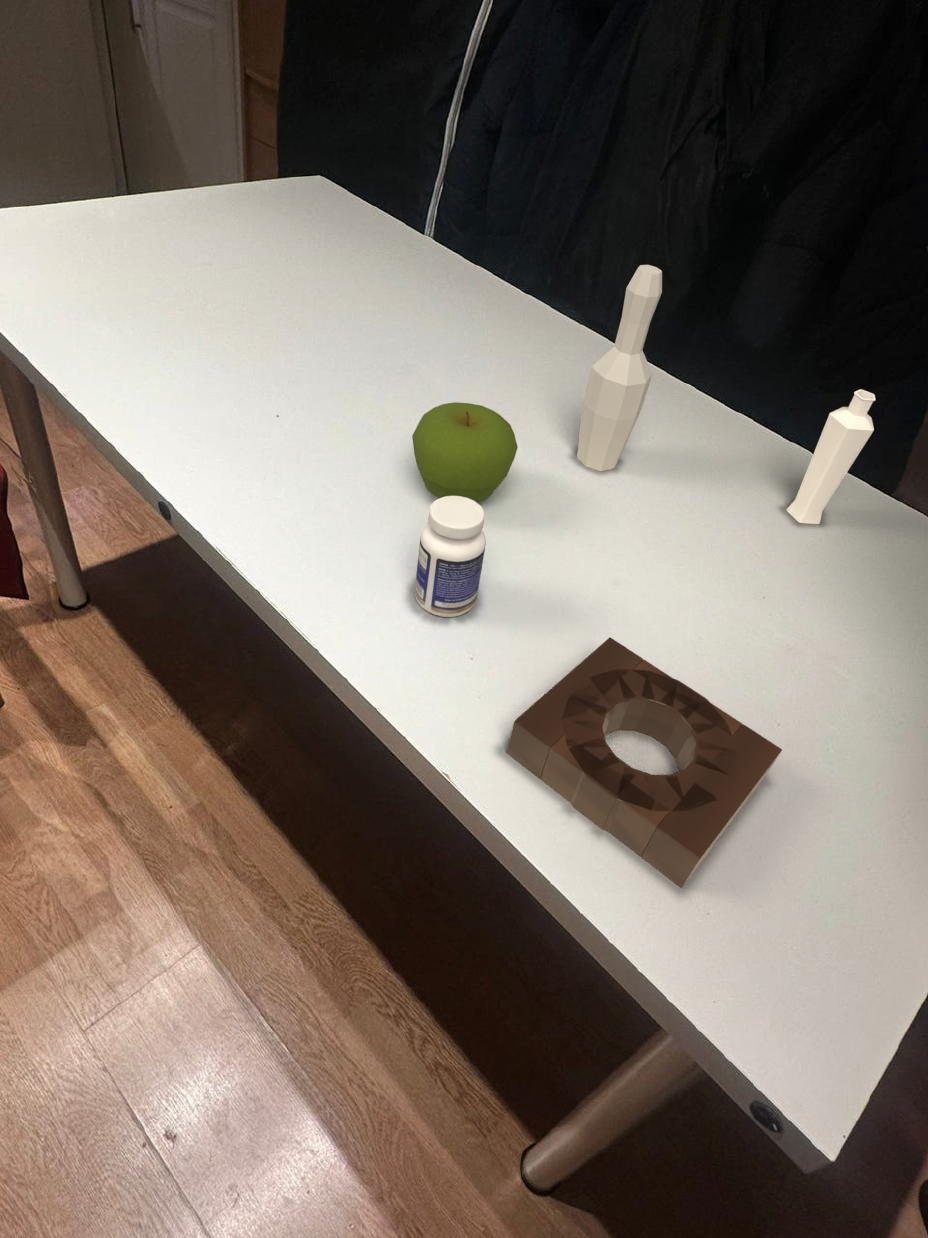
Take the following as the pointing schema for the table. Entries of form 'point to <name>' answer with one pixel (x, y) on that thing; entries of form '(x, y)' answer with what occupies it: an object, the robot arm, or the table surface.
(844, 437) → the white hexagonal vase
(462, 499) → the pill bottle
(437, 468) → the apple
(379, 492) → the table surface
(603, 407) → the faceted bottle
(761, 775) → the hole plate
